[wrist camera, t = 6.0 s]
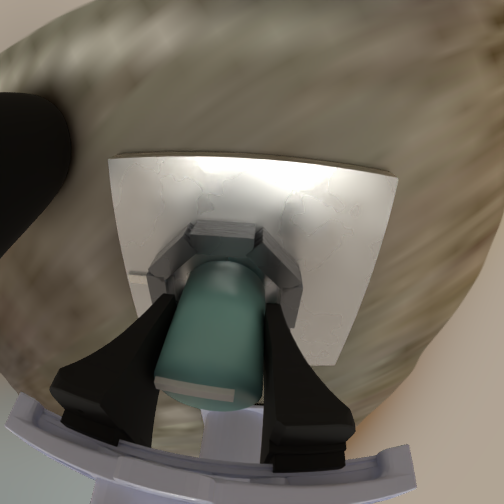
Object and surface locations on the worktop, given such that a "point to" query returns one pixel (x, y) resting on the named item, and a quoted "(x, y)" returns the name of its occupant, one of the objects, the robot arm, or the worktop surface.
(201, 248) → the panel
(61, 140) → the mug
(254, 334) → the knob
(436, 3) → the worktop surface
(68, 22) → the worktop surface
